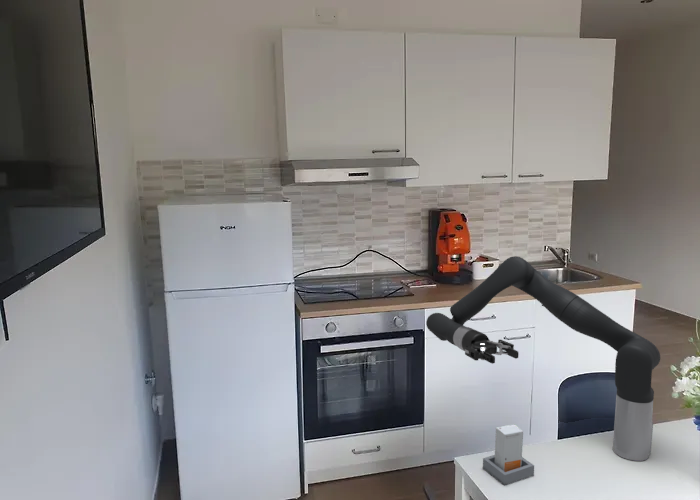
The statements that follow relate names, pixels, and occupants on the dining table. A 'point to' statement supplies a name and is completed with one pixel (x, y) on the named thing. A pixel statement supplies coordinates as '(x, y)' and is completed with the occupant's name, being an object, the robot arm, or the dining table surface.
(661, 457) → the dining table surface
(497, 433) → the skincare box
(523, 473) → the gray tray
